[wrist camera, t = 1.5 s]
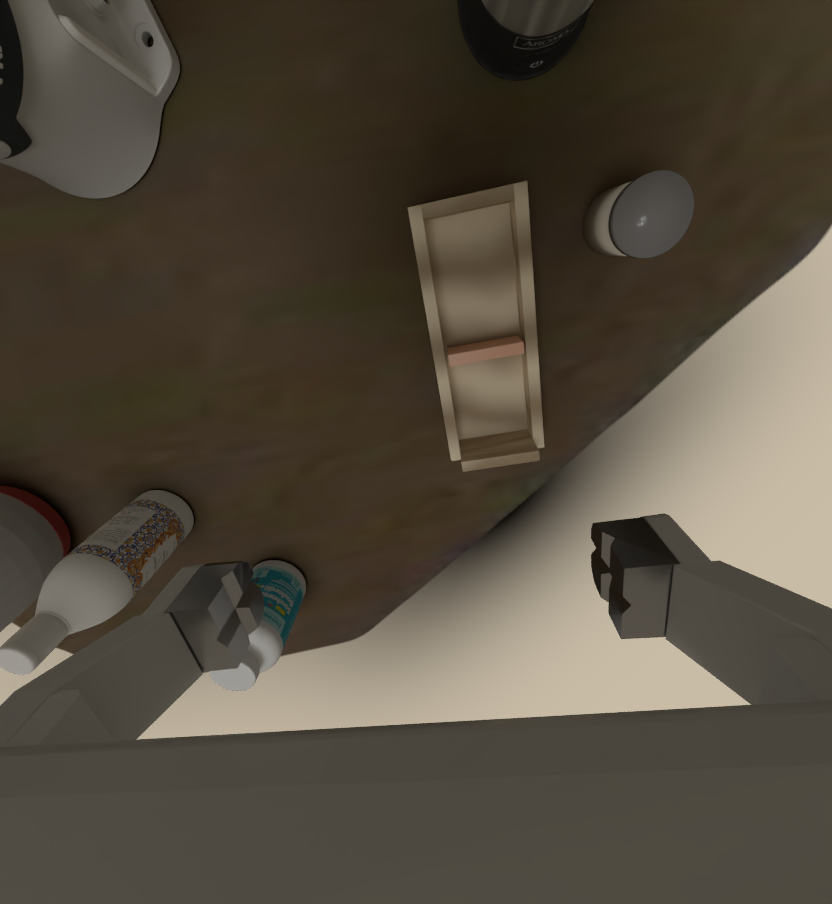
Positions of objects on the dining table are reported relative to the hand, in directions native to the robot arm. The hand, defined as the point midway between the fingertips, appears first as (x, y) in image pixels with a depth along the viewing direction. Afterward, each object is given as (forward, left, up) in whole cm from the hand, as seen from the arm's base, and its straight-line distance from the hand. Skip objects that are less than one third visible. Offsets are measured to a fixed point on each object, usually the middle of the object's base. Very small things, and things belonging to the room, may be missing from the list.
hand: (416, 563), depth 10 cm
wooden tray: (+1, +4, -32) cm, 33 cm away
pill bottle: (+27, -25, -33) cm, 49 cm away
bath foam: (+15, -35, -33) cm, 50 cm away
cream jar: (-6, +16, -32) cm, 37 cm away
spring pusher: (+2, +4, -31) cm, 32 cm away
